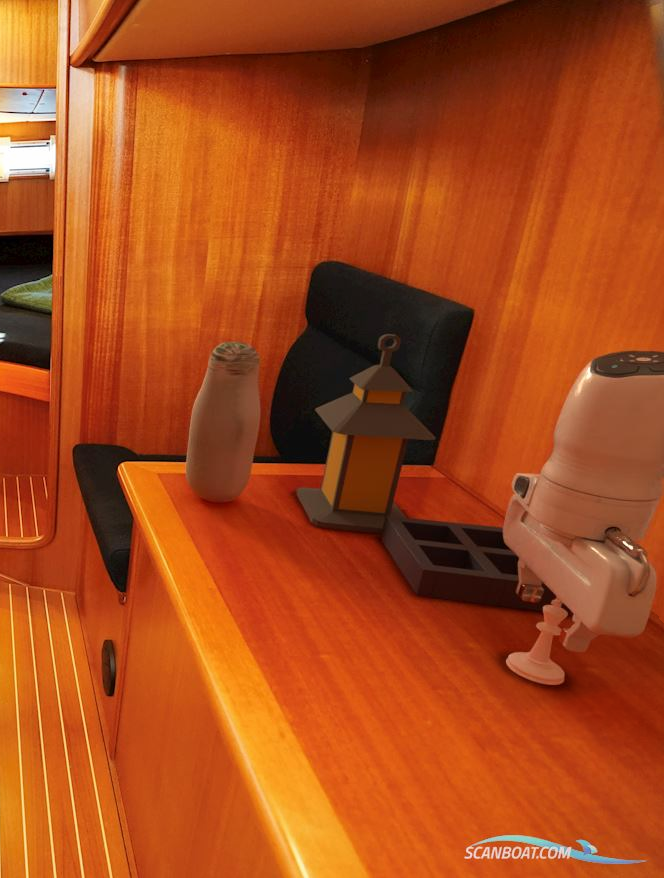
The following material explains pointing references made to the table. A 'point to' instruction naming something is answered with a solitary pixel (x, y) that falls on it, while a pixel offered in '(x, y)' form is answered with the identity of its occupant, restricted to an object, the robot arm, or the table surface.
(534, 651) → the chess piece
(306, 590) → the table surface
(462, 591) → the compartment tray
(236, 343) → the beige bottle
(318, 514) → the lantern
